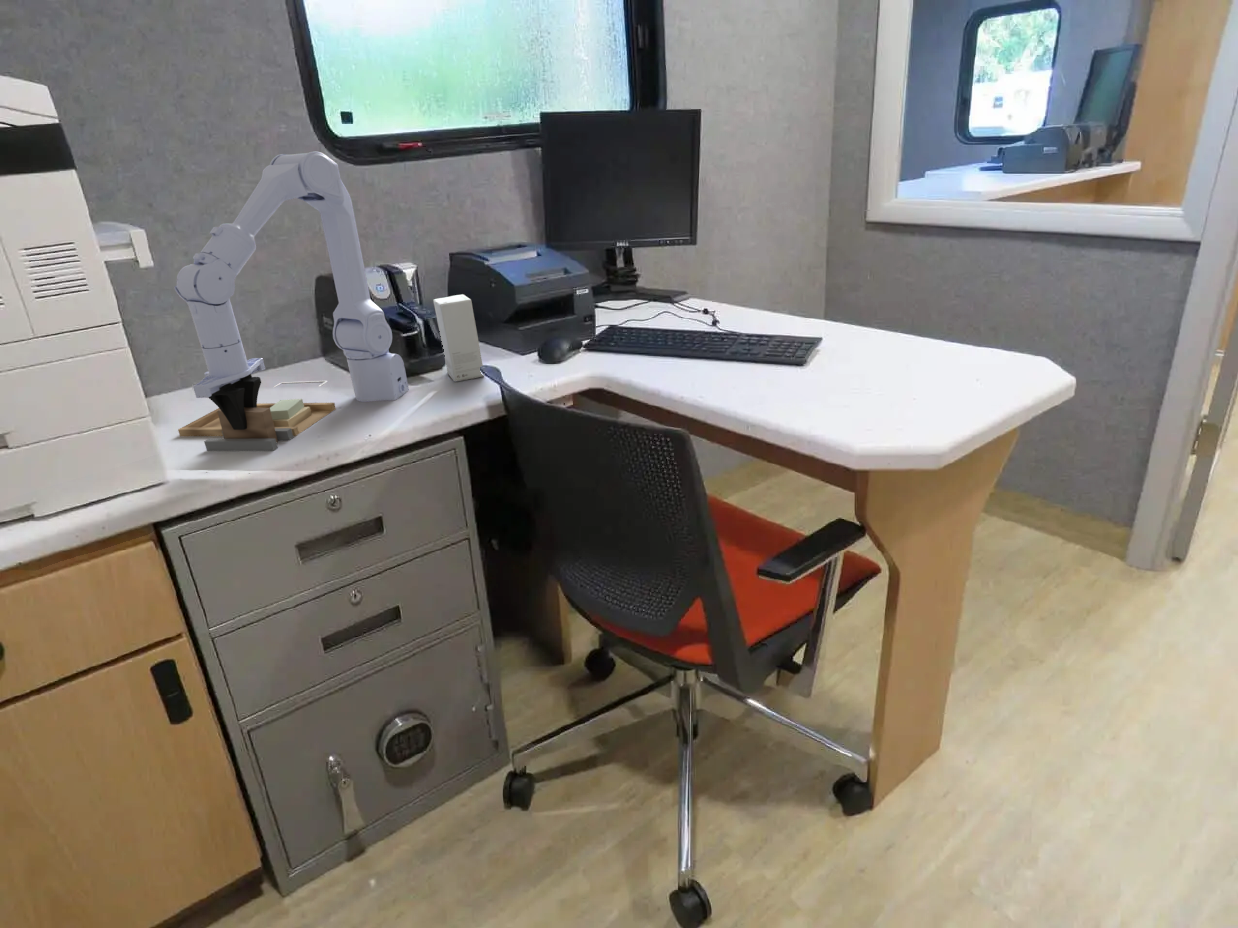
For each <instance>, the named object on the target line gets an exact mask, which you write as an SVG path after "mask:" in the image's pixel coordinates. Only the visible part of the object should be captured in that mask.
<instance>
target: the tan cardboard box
mask: <svg viewBox="0 0 1238 928" xmlns="http://www.w3.org/2000/svg"><path fill="white" fill-rule="evenodd" d="M244 411H245V415H246V420H247V428H246V429H245V430H234V429H233V428H232V426H231V424H230V423H229V421H228V420H227V418H226V416H225V415H224V414H223V412H222V411H221V410H218V411H217V412H218V416H219V420H220V424H221V427H222V431H223V435H224V437H223V439H266V438H275V439H276V443H277V444H278V442H279V440H277V436H276V432H275V428H274V424H273V419H272V415H271V411H270V408H251V407H244Z"/></svg>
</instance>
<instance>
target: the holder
mask: <svg viewBox="0 0 1238 928" xmlns="http://www.w3.org/2000/svg"><path fill="white" fill-rule="evenodd" d="M275 432H276V436H277V440H278V441H291V440H293V439H294V436H293V434H292V430H291V428H275ZM222 434H223V431H222ZM222 437H223V438H207V439H205V440H204V441H203V442H204V446H205V449H206V451H207V452H274V451H276V450H278V442H277V443H276V439H275V438H266V439H224V435H223V436H222Z"/></svg>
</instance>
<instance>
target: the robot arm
mask: <svg viewBox="0 0 1238 928" xmlns="http://www.w3.org/2000/svg"><path fill="white" fill-rule="evenodd" d="M294 199H297V200H298V199H299V200H301V201H302V202H305V203H306V204H308V205H309V206H310V207H311V208H314V210H317V211H318V212H319V215H320V220H321V225H322V228H323V235H324V239H325V243H326V248H327V253H328V258H329V262H330V268H331V273H332V277H333V281H334V287H335V291H336V296H337V301H338V304H337V306H336V307H335V309H334V311H333V312H332V316H333V328H332V339H333V341H334V343H335V345H336V346H337V347H338V348H339V349H341V350H342V353H343V356H345V357H346V362H347V366H348V370H349V375H350V376H349V377H350V379H351V384H352V389H353V392H354V393H353V394H354V396H355V400H356V401H359V402H363V403H365V402H375V401H376V402H377V401H397V400H398V399H399V398H400V397H402V396H403V395H404V394H406V393H407V392H408V391H410V388H409V384H408V383H409V382H408V378H407V373H406V368H405V363H404V359H403V358H402V356H401V355H400V354H397V353H391V352H390V351H389V349H390V347H391V345H392V342H393V333H392V329H391V327H390V325H389V324H388V322H387V319H386V317H385V313H384V311H383V310H382V308H380V306H378V304H376V303H375V302H374V301H373V300H372V299H371V294H370V289H369V284H368V279H367V274H366V269H365V268H366V267H365V263H364V258H363V254H362V248H361V243H360V239H359V234H358V226H357V223H356V217H355V211H354V207H353V201H352V198H351V194H350V193H349V191H348V189H347V187H346V186H345V184H344V183H343V180H342V178H341V173H340V169H339V164H338V163H337V162H335V161H334V160H333V159H331V158H330V157H329V156H328V155H326V154H325V153H323V152H320V151H310V152H305V153H295V154H286V153H281V154H277V155H276V156H274V157H273V158H272V159H271V160H270V162H269V165H266V167H264V169H263V170H262V173H261V178H260V180H259V181H258V183H257V185H256V187H255V188H254V189H253V190H252V193H251V194H250V195H249V196H248V199H246V202H245V203H244V205H243V207H242V208H241V209H240V211H239V213H238V214H237V217H235V219H234V221H233V222H232V223H231V222H230V223H228V222H227V223H221V224H220V225H219V226H213V227H212V228H211V229H210V232H209V234H210V235H211V237H210V239H209V240H207V243H206V244H205V245H204V246H203V248H202V249H201V251H199V252H198V253H197V252H195V253H194V254H193V256H192V259H193V263H191V264H188V265H185V266H183V267H182V268H181V269H180V270H179V271H178V273H177V275H176V285H175V286H174V287H173V288H174V291H175V293H176V295H177V296H179V298H180V299H182V300H183V301H184V302H185V303H186V304H187V306H188V310H189V312H190V315H191V318H192V322H193V324H194V328H195V331H196V334H197V338H198V341H199V344H200V348H201V352H202V356H203V358H204V361H205V362H204V363H205V365H206V369H207V371H206V372H204V373H203V374H204V377H203V378H202V379H201V380H200V381H199V382H197V383H196V384H193V385H192V388H193V392H194V395H195V398H197V399H206V398H207V399H209V400H210V401H212V403H214V404H215V405H216V406H217V407H218V408H220V410H221V411H222V412H223V414H224V415H225V416H226V418H227V420H228V421H229V423H230V424H231V426H232V428H233V429H234V430H245V429H246V428H247V420H246V415H245V411H244V407H251V408H257V404H258V397H259V396H258V395H259V390H260V388H261V384H262V380H261V377H260V376H253V374H255V373H257V372H262V371H264V370H266V366H265V363H264V362H265V361H264V359H263V358H262V357H254V358H249V359H247V356H246V352H245V349H244V345H243V341H242V338H241V334H240V331H239V327H238V324H237V319H236V317H235V314H234V309H233V305H232V303H231V298H232V297H233V296H234V294H235V291H236V290H235V289H236V284H235V281H236V278H237V276H238V275H239V274H240V273H241V271H242V269H243V268H244V266H245V265H246V264H247V262H248V261H249V260H250V258H251V257H252V255H253V254H254V253H255V251H256V250H257V244H256V239H255V237H256V235H257V234H258V233H259V232H260V231H261V229H262V228H263V227H264V226H265V225H266V224H267V222H268V221H269V220H270V218H271V217H272V216H273V215H274V214H275V213H276V211H277V210H278V209H279V208H280V206H281V205H282V204H283V203H284V202H285V201H289V200H294Z"/></svg>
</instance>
